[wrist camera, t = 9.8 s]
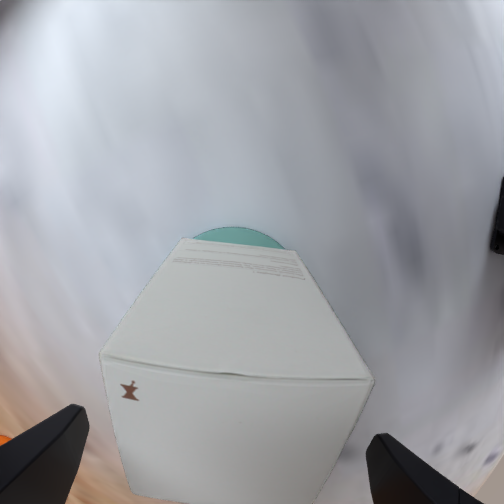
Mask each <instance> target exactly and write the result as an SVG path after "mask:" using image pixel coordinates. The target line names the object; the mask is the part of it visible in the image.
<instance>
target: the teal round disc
mask: <svg viewBox="0 0 504 504" xmlns="http://www.w3.org/2000/svg"><path fill="white" fill-rule="evenodd" d="M193 239H196V240H205V241H215V242H224V243H233V244H242V245H251V246H260V247H268V248H277V249H284V248H283V247H282V246H281V245H280V244H279V243H278V242H276V241H275V240H273V239H272V238H270V237H269V236H267V235H265V234H263V233H261V232H258V231H255V230H252V229H247V228H241V227H223V228H218V229H213V230H210V231H207V232H204V233H202V234H200V235H198V236H196V237H195V238H193ZM284 250H285V249H284Z"/></svg>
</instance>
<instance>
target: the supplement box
mask: <svg viewBox="0 0 504 504" xmlns="http://www.w3.org/2000/svg"><path fill="white" fill-rule="evenodd" d="M99 359H100V365H101V370H102V376H103V381H104V386H105V391H106V396H107V400H108V406H109V411H110V415H111V420H112V424H113V429H114V433H115V438H116V442H117V445H118V449H119V453H120V457H121V461H122V464H123V468H124V471H125V474H126V478H127V481H128V484H129V487H130V490H131V492H132V493H133V494H135V495H140V496H145V497H150V498H156V499H162V500H168V501H174V502H181V503H189V504H313V502H314V500H315V499H316V497H317V495H318V494H319V492H320V490H321V489H322V487H323V485H324V483H325V482H326V480H327V478H328V476H329V475H330V473H331V471H332V469H333V467H334V465H335V463H336V461H337V459H338V457H339V455H340V453H341V451H342V450H343V448H344V446H345V444H346V442H347V440H348V438H349V437H350V435H351V433H352V431H353V429H354V427H355V425H356V423H357V421H358V419H359V417H360V415H361V413H362V411H363V408H364V406H365V404H366V402H367V400H368V397H369V395H370V393H371V391H372V389H373V387H374V384H375V377H374V376H373V374H372V372H371V371H370V369H369V368H368V366H367V365H366V363H365V362H364V360H363V359H362V357H361V355H360V354H359V352H358V350H357V349H356V347H355V345H354V344H353V342H352V340H351V339H350V337H349V335H348V334H347V332H346V330H345V329H344V327H343V326H342V324H341V322H340V321H339V319H338V317H337V316H336V314H335V313H334V311H333V309H332V308H331V306H330V304H329V302H328V301H327V299H326V298H325V296H324V294H323V293H322V291H321V290H320V288H319V286H318V285H317V283H316V282H315V280H314V279H313V277H312V275H311V274H310V272H309V271H308V269H307V267H306V266H305V265H304V263H303V261H302V260H301V258H300V257H299V255H298V254H297V252H296V251H291V250H284V249H277V248H268V247H260V246H251V245H242V244H233V243H224V242H215V241H205V240H196V239H187V238H181V240H180V241H179V242H178V244H177V245H176V246H175V248H174V249H173V250H172V252H171V253H170V254H169V255H168V257H167V258H166V259H165V261H164V262H163V263H162V265H161V266H160V267H159V269H158V270H157V271H156V273H155V274H154V276H153V277H152V278H151V280H150V281H149V282H148V284H147V285H146V287H145V288H144V289H143V291H142V292H141V294H140V295H139V296H138V298H137V299H136V300H135V302H134V303H133V305H132V306H131V307H130V309H129V310H128V311H127V313H126V314H125V316H124V317H123V319H122V320H121V322H120V323H119V325H118V326H117V327H116V329H115V330H114V332H113V333H112V335H111V336H110V338H109V339H108V340H107V342H106V343H105V345H104V346H103V348H102V349H101V351H100V353H99Z"/></svg>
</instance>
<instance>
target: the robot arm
mask: <svg viewBox="0 0 504 504" xmlns="http://www.w3.org/2000/svg"><path fill="white" fill-rule="evenodd" d="M495 247H496V248H495ZM491 251H493V252H495V253H498V254H503V255H504V177H503V184H502V191H501V197H500V203H499V209H498V214H497V219H496V224H495V229H494V233H493V238H492V242H491ZM88 432H89V421H88V418H87V414H86V410H85V408H84V407H83V406H80V405H76V404H70V405H69V406H67V407H65V408H64V409H62V410H60V411H59V412H57V413H55V414H54V415H52V416H50V417H49V418H47V419H45V420H44V421H42V422H40V423H39V424H37V425H35V426H34V427H32V428H30V429H28V430H27V431H25V432H23V433H22V434H20V435H18V436H16V437H15V438H13V439H11V440H9V441H8V442H6V443H4V444H2V445H1V446H0V504H65V502H66V499H67V497H68V494H69V492H70V489H71V486H72V484H73V481H74V479H75V476H76V474H77V471H78V468H79V465H80V461H81V458H82V454H83V450H84V446H85V443H86V439H87V436H88ZM366 460H367V467H368V474H369V482H370V489H371V494H372V499H373V503H374V504H484V503H482V502H480V501H479V500H477V499H475V498H474V497H472V496H471V495H469V494H468V493H466V492H465V491H464V490H462V489H461V488H460V489H459V487H458V486H457V485H455V484H454V483H452V482H451V481H450V480H448V479H447V478H446V477H444V476H443V475H442V474H440V473H439V472H438V471H436V470H435V469H434V468H432V467H431V466H430V465H428V464H427V463H426V462H424V461H423V460H422V459H420V458H419V457H418V456H416V455H415V454H414V453H413V452H411V451H410V450H409V449H407V448H406V447H405V446H404V445H402V444H401V443H400V442H398V441H397V440H396V439H395V438H393V437H392V436H391V435H390V434H388V433H381V434H376V435H375V436H374V438H373V439H372V441H371V443H370V445H369V446H368V448H367V451H366Z"/></svg>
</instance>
